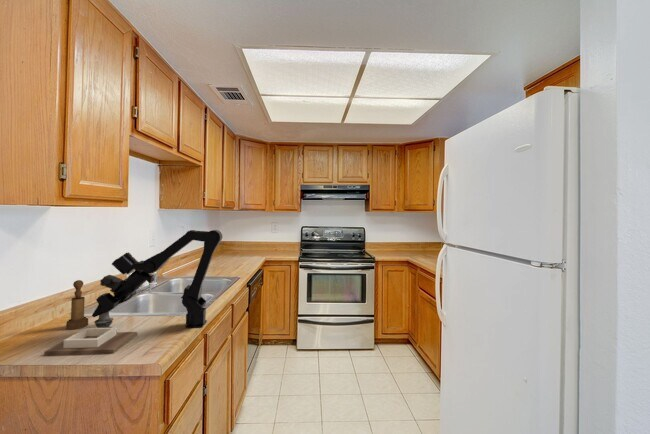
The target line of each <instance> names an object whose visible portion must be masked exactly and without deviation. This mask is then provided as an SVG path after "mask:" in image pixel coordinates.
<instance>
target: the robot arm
mask: <svg viewBox="0 0 650 434" xmlns="http://www.w3.org/2000/svg"><path fill="white" fill-rule="evenodd" d="M222 240H223V233H222V232H221V231H220V230H218V229H211V230H209V231H208V230H207V231H205V230H195V229H190V230H187V231H186V233H185V234H183V235H182V236H181V237H179V238H178V239H177V240H175V241H174V242H173V243H171V244H170V245H169V246H167V247H166V248H165V249H164V250H162V251H161V252H159V253H156V254H154V255H153V256H151V257H149V258H146V259H145V260H140V261H138V260H137V259H136V258H135V256H133V255H132V254H131V253H130V252H129V251H128V252H125V253H124V254H122V255H121V256H120V257H118V258H116V259H115V260H114V261H113V262H112V263H111V265H112V266H113V267H114V268H115V269H116V270H117V271H118V272H119V273H120V274H122V275H128V276H127V277H126V278H125V279H122V278H119V277H118V276H115V275H112V274H107V275H105V276H103V278H102V279H100V280H99V282H100V284H99V285H100V286H102V287H106V288H108V289H110V292H105V293H103V294H101V295H99V296H98V297H97V298H96V299H95V301H96V302H97V304H98V305H97V306H96V308H95V309H94V312H93V313H92V314H91V317H93V318H96V317H99V315H101V314H103V313H106V312H108V311H109V312H111V311H112V310H114V309H115V308H117V306H118V307H119V305H121V304H122V303H125V302H127V301H129V300H131V299H132V298H133V297H135V296H136V294H137V290H139V289H140V287H141V286H143V285H144V284H145V283H146V282H147V283H149V284H151V283H153V282H154V281H155V274H153V273H155V272H158V271H159V270H161V269H162V268H163V267H164V266H165V265H166V264H167V262H169V260H170V259H171V258H172V257H173V256H175V255H176V254H177V253H178V252H180V251H181V250H182V249H183V248H185V247H186V246H188V245H189V244H190V243H192V242H193V241H197V242H203V251H202V254H201V256H200V260H199V262H198V265H197V267H196V271H195V273H194V277H193V278H192V282H191V284H187V286H186V287H184V290H183V294H182V296H181V297H180V299H181V303H182V306H183V307H185V309H186V314H185V328H202V327H204V326H205V325H206V323H207V322H208V320H207V319H206V318H207V317H206V316H207V315H206V313H207V312H206V311H207V308H206V307H205V306H206V304H207V300H206V299H205V298H203V296H202V293H203V283H204V281H205V279H206V275H207V272H208V269H209V267H210V265H211V261H212V258H213V256H214V253H215V251H216V250H217V248H218V247H219V245H220V244H221V241H222ZM111 293H112V294H113V295H112V294H111Z"/></svg>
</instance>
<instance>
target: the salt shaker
mask: <svg viewBox="0 0 650 434" xmlns="http://www.w3.org/2000/svg"><path fill="white" fill-rule="evenodd" d="M113 321H114V318H113V317H110V311H108V312H106V313H103V314H101V315H99V316H98V319H96V320H95V321H93V323H94V325H95V328H113V326H111V325H112V323H113Z"/></svg>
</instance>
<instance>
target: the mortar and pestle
mask: <svg viewBox="0 0 650 434" xmlns="http://www.w3.org/2000/svg"><path fill="white" fill-rule="evenodd" d="M72 286H73V287H74V289H75V291H74V292H73V293H74V297H72V298H71V299H70V300H71V308H70V310H71V311H70V319H68V320H67V321H66V325H65V329H66V330H78V329H83V328H85V327H87V326H89V317H87V316H85V302H86V301H85V300H86V299H85V296H82V294H83V291H82V290H81V289H82V287H83V286H84V281H83V280H81V279H80V280H79V279H77V280H75V281H74V282H73V283H72Z"/></svg>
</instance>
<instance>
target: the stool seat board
mask: <svg viewBox="0 0 650 434" xmlns="http://www.w3.org/2000/svg"><path fill="white" fill-rule="evenodd" d="M137 336H138V332H137V331H122V332H121V331H118V332H117V327H112V328H98V327H86V328H84V329H82V330H80V331H78V332H76V333H75V334H73V335H71V336H69V337H67V338H65V339H63V341H61V342H59V343H58V344H56V345H53V346H52V347H50V348H48V349H47V350H45V351H43V352H44V353H43V354H44V356H64V355H65V356H67V355H69V356H70V355H96V354H97V355H99V354H101V355H102V354H105V355H106V354H115V353H116V352H118V350H119V349H121V348H122V347H124V346H125V345H127V344H129V342H130V341H131V340H133V339H134V338H135V337H137Z"/></svg>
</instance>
